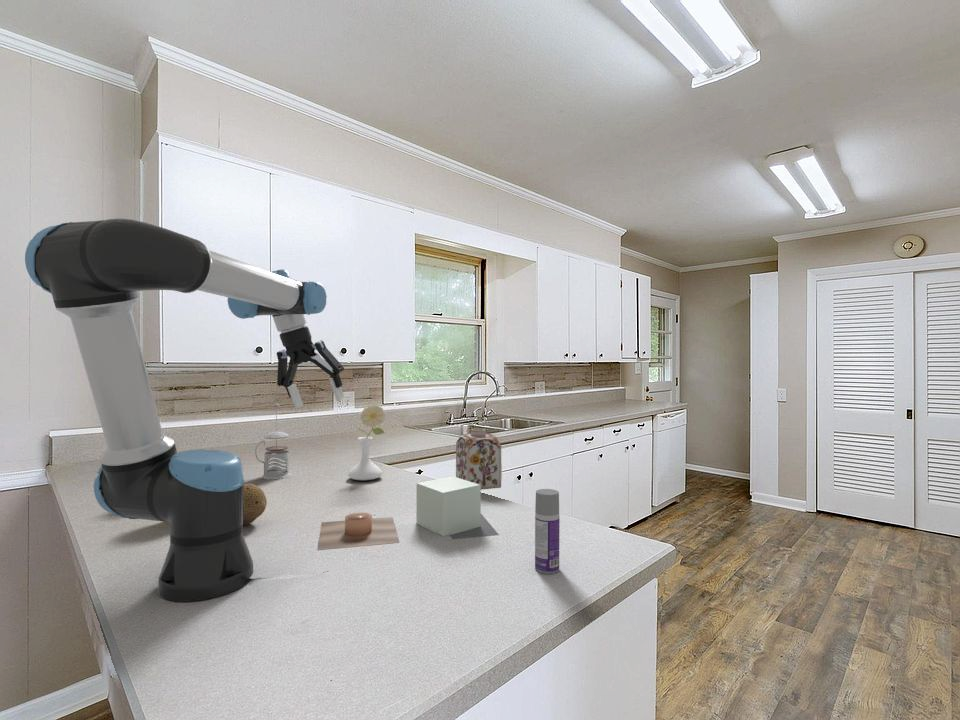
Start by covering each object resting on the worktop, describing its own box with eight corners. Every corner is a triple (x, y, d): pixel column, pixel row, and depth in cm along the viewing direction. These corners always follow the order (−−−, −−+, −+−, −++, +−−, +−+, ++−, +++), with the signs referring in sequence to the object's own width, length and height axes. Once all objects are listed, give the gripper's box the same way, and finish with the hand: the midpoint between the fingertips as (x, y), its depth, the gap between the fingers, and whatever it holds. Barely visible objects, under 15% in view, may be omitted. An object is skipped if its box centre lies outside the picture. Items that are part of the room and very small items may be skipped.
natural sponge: (275, 522, 124) (275, 482, 124) (242, 533, 117) (242, 490, 117) (252, 517, 129) (252, 478, 129) (219, 527, 121) (219, 485, 121)
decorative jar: (455, 482, 165) (455, 427, 165) (488, 479, 169) (488, 425, 169) (467, 491, 154) (467, 432, 154) (502, 488, 158) (502, 430, 158)
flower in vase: (341, 482, 165) (341, 405, 165) (357, 474, 176) (357, 402, 176) (378, 484, 162) (378, 406, 162) (392, 476, 173) (392, 403, 173)
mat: (498, 536, 115) (498, 534, 115) (411, 545, 110) (411, 542, 110) (479, 513, 132) (479, 511, 132) (402, 519, 127) (402, 517, 127)
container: (556, 564, 100) (557, 488, 100) (561, 574, 95) (561, 494, 95) (533, 564, 100) (533, 488, 100) (536, 574, 95) (537, 495, 95)
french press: (292, 478, 170) (292, 404, 170) (254, 481, 166) (254, 405, 166) (291, 471, 180) (291, 401, 179) (255, 474, 175) (255, 402, 175)
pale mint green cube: (480, 526, 120) (480, 484, 120) (442, 537, 113) (442, 492, 113) (453, 515, 129) (453, 476, 129) (416, 524, 122) (416, 483, 122)
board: (399, 546, 109) (399, 542, 109) (317, 553, 105) (317, 549, 105) (392, 520, 127) (392, 516, 127) (321, 525, 122) (321, 522, 122)
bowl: (372, 535, 114) (372, 519, 114) (344, 537, 112) (344, 521, 112) (371, 526, 120) (371, 511, 119) (345, 528, 118) (345, 513, 118)
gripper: (340, 315, 132) (365, 390, 137) (265, 335, 140) (291, 405, 145) (324, 321, 125) (351, 400, 130) (246, 342, 134) (274, 415, 138)
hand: (319, 403), depth 137 cm, fingers open, 13 cm apart
